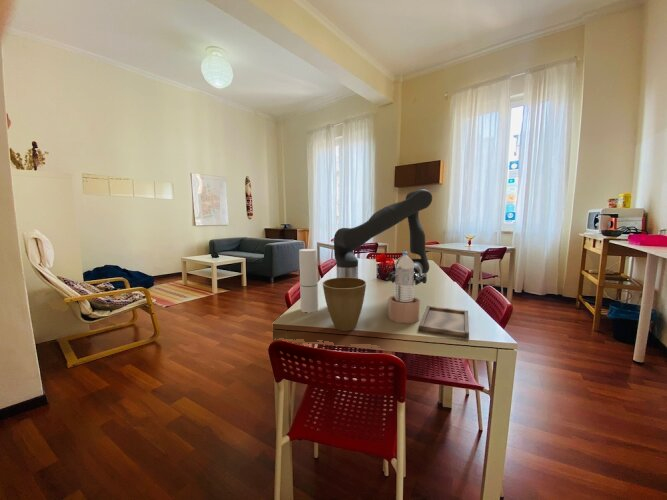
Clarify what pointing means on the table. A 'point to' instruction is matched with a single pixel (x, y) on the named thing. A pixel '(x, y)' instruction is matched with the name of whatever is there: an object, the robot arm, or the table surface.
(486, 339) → the table surface
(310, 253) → the cylindrical container
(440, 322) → the tray
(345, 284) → the plant pot
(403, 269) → the water bottle
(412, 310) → the holder cup
